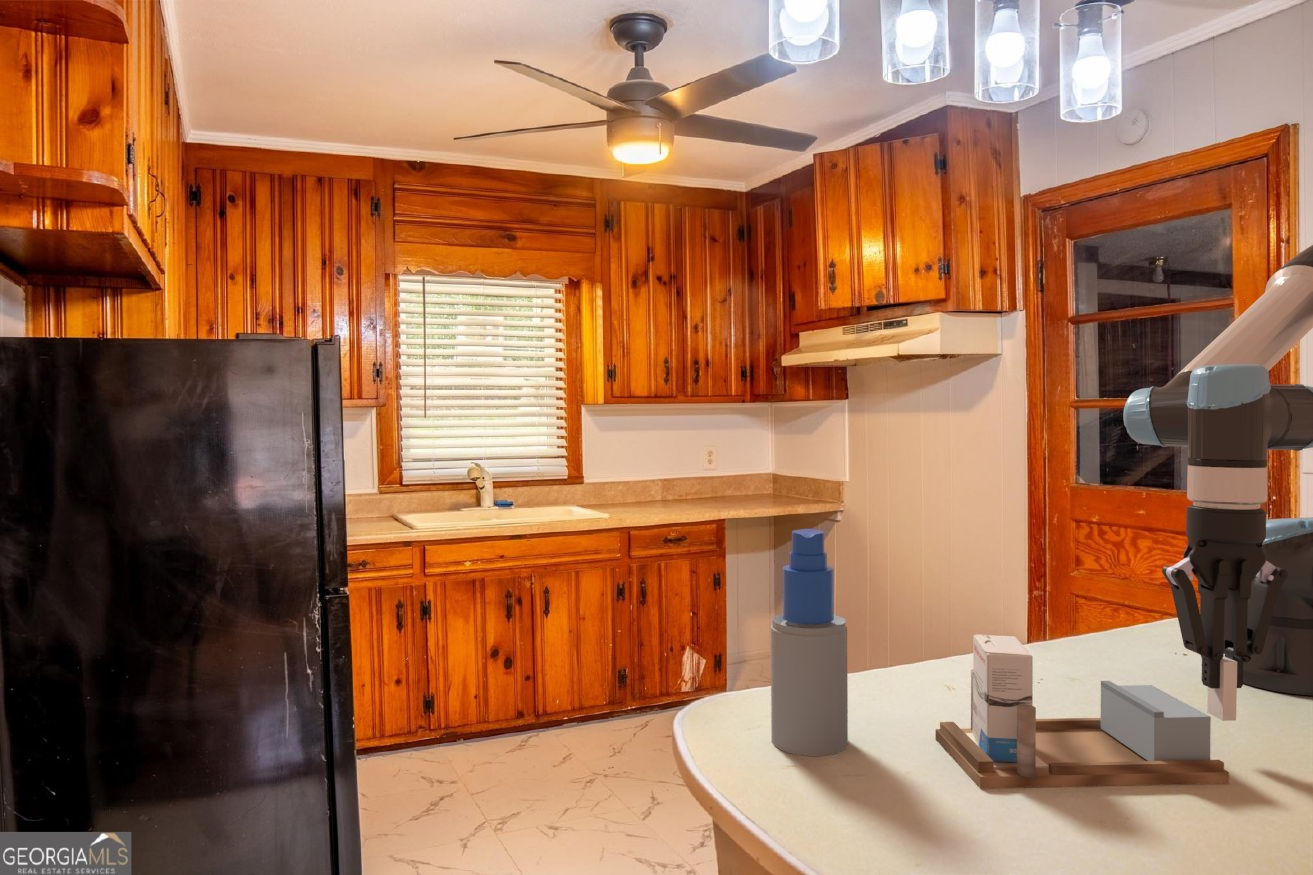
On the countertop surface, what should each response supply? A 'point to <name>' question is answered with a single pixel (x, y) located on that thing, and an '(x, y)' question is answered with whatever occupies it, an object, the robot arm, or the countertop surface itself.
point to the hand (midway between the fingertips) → (1221, 716)
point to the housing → (1154, 723)
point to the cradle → (1068, 757)
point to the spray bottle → (809, 656)
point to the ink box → (999, 693)
